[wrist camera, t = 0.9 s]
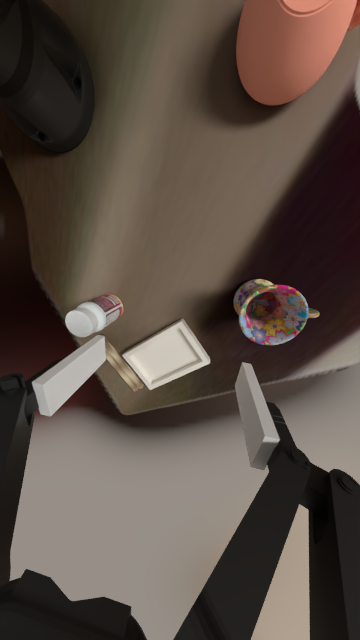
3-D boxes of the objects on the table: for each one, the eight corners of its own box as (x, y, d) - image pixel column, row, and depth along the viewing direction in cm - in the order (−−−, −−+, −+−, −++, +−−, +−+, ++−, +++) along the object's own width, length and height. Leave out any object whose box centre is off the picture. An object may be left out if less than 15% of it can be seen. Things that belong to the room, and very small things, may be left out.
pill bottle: (96, 295, 40) (56, 309, 29) (119, 291, 38) (86, 304, 28) (105, 320, 42) (70, 341, 31) (127, 317, 40) (99, 338, 30)
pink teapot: (237, -5, 22) (259, -206, 12) (364, -38, 19) (510, -316, 10) (230, 123, 26) (242, 48, 17) (333, 108, 24) (415, 11, 14)
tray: (125, 351, 44) (121, 355, 42) (182, 317, 38) (181, 321, 36) (152, 384, 47) (150, 390, 45) (210, 358, 41) (210, 363, 39)
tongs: (94, 339, 44) (91, 341, 43) (102, 333, 43) (99, 335, 42) (135, 388, 48) (133, 392, 47) (144, 384, 47) (142, 388, 46)
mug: (229, 320, 37) (236, 343, 27) (233, 276, 33) (242, 284, 24) (289, 322, 35) (320, 348, 25) (299, 276, 32) (340, 285, 22)
